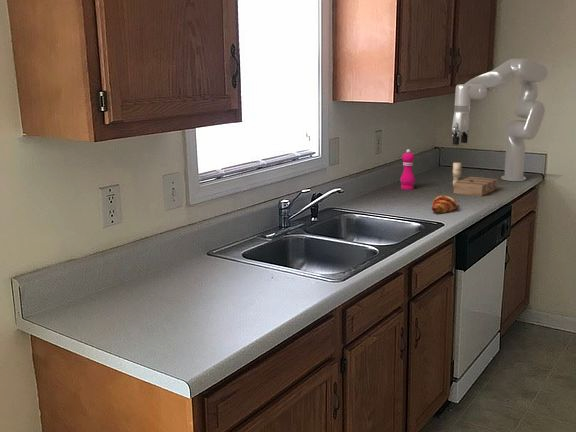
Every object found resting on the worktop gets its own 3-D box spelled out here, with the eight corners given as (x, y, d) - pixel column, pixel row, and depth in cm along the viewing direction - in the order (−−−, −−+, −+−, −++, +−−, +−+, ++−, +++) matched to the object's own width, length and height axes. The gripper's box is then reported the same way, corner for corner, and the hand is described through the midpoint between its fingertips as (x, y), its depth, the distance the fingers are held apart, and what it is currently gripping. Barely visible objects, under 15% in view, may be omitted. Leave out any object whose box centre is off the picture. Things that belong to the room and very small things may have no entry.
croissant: (448, 212, 293) (441, 195, 294) (467, 204, 287) (460, 187, 287) (428, 220, 277) (420, 203, 277) (448, 212, 270) (440, 195, 271)
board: (469, 186, 331) (470, 176, 330) (496, 189, 322) (497, 179, 321) (453, 193, 315) (454, 183, 314) (481, 196, 307) (482, 185, 306)
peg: (454, 185, 335) (455, 162, 332) (461, 185, 332) (462, 162, 329) (450, 186, 332) (451, 163, 329) (458, 187, 329) (459, 163, 326)
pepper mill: (415, 189, 325) (416, 150, 320) (401, 190, 325) (402, 150, 320) (413, 187, 332) (414, 148, 327) (399, 187, 332) (399, 148, 327)
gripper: (462, 108, 331) (460, 141, 335) (447, 110, 318) (445, 144, 322) (476, 109, 327) (473, 142, 331) (461, 110, 314) (459, 146, 317)
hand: (459, 143), depth 326 cm, fingers open, 9 cm apart
